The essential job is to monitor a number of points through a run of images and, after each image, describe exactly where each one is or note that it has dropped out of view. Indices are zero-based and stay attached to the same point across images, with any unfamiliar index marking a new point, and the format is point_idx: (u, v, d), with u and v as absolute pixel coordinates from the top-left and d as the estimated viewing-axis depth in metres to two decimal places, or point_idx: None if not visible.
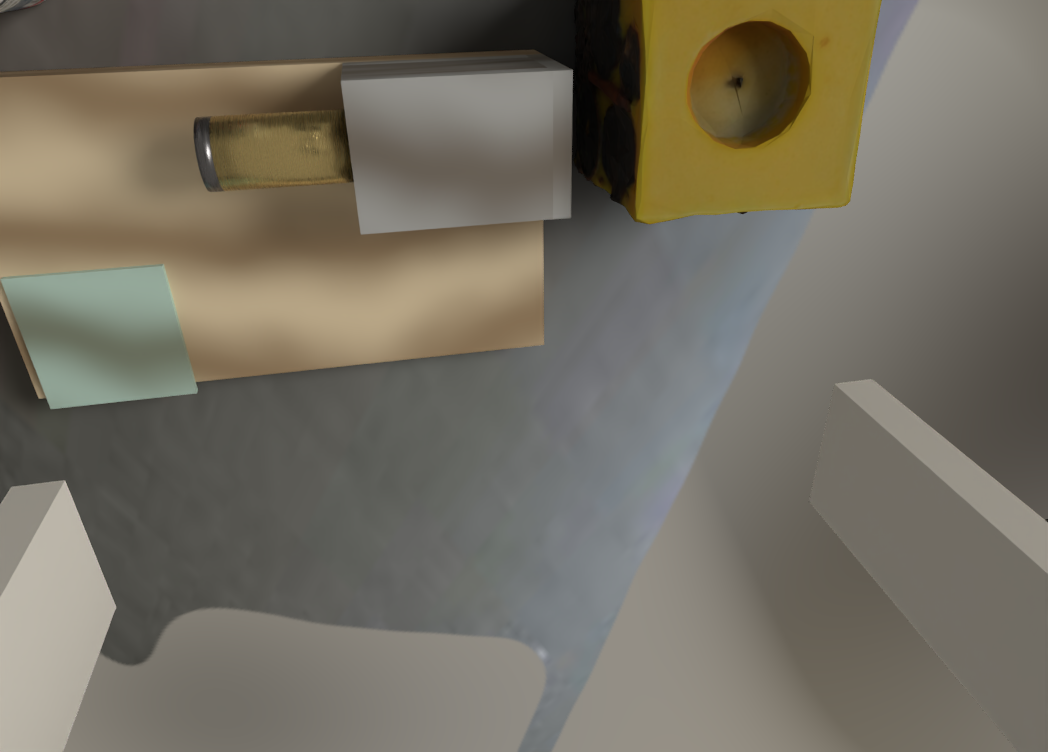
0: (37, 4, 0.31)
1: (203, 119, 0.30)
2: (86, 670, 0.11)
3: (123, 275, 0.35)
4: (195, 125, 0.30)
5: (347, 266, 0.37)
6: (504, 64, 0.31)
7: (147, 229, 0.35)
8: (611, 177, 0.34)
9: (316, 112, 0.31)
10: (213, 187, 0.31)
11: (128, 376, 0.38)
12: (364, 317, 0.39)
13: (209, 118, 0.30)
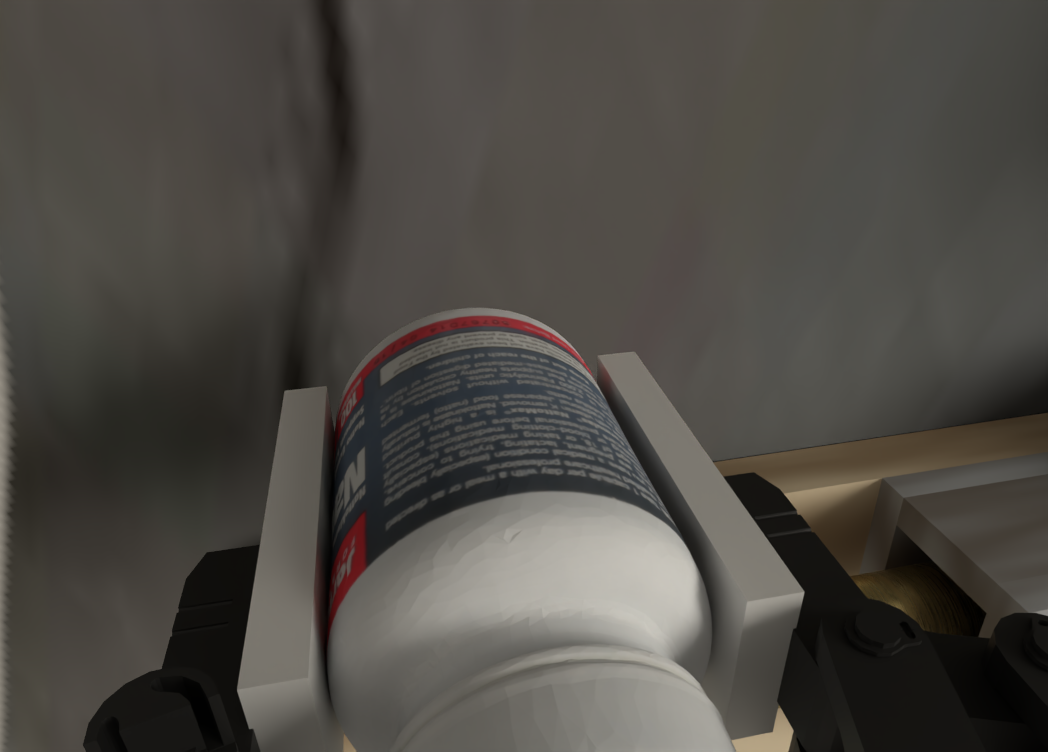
0: None
1: None
2: None
3: None
4: None
5: None
6: None
7: None
8: None
9: (898, 592, 0.20)
10: None
11: None
12: None
13: None
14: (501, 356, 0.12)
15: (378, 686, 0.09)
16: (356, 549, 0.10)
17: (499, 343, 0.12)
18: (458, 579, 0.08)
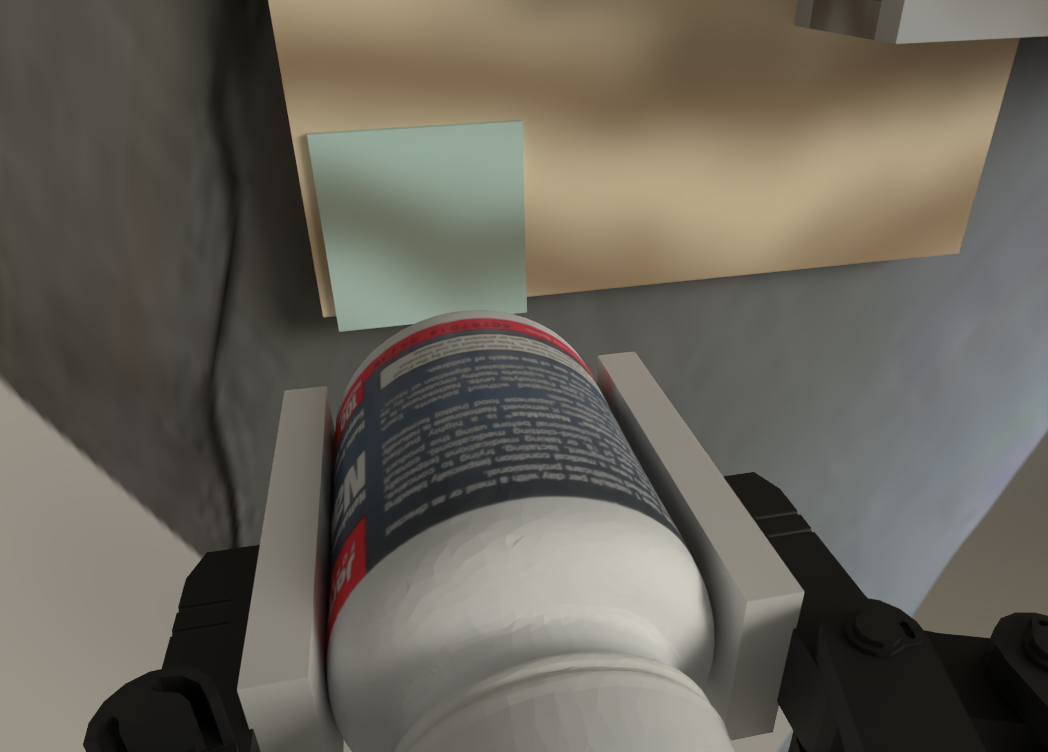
0: None
1: None
2: None
3: (469, 134, 0.25)
4: None
5: (752, 132, 0.27)
6: None
7: (511, 65, 0.24)
8: None
9: None
10: None
11: (446, 286, 0.27)
12: (754, 208, 0.28)
13: None
14: (502, 359, 0.12)
15: (379, 693, 0.09)
16: (356, 554, 0.09)
17: (500, 346, 0.12)
18: (460, 585, 0.08)
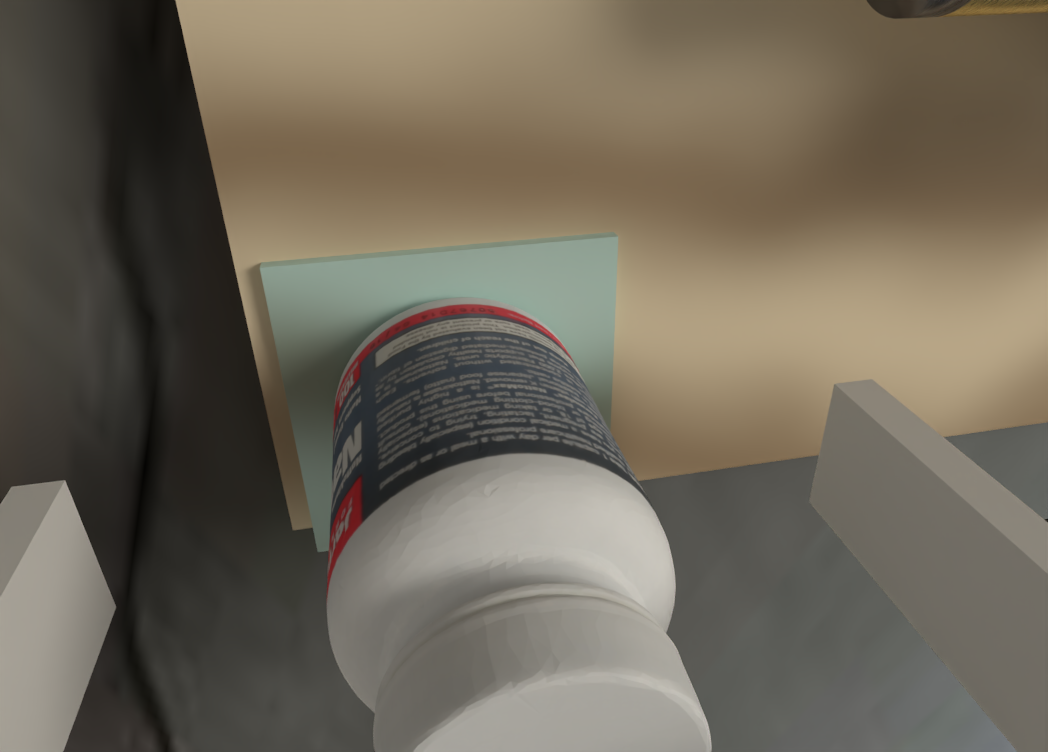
0: None
1: None
2: (86, 670, 0.11)
3: (531, 258, 0.15)
4: None
5: (965, 241, 0.17)
6: None
7: (602, 148, 0.15)
8: None
9: None
10: None
11: None
12: (952, 349, 0.19)
13: None
14: (486, 339, 0.13)
15: (374, 625, 0.10)
16: (354, 508, 0.11)
17: (484, 328, 0.14)
18: (443, 528, 0.09)
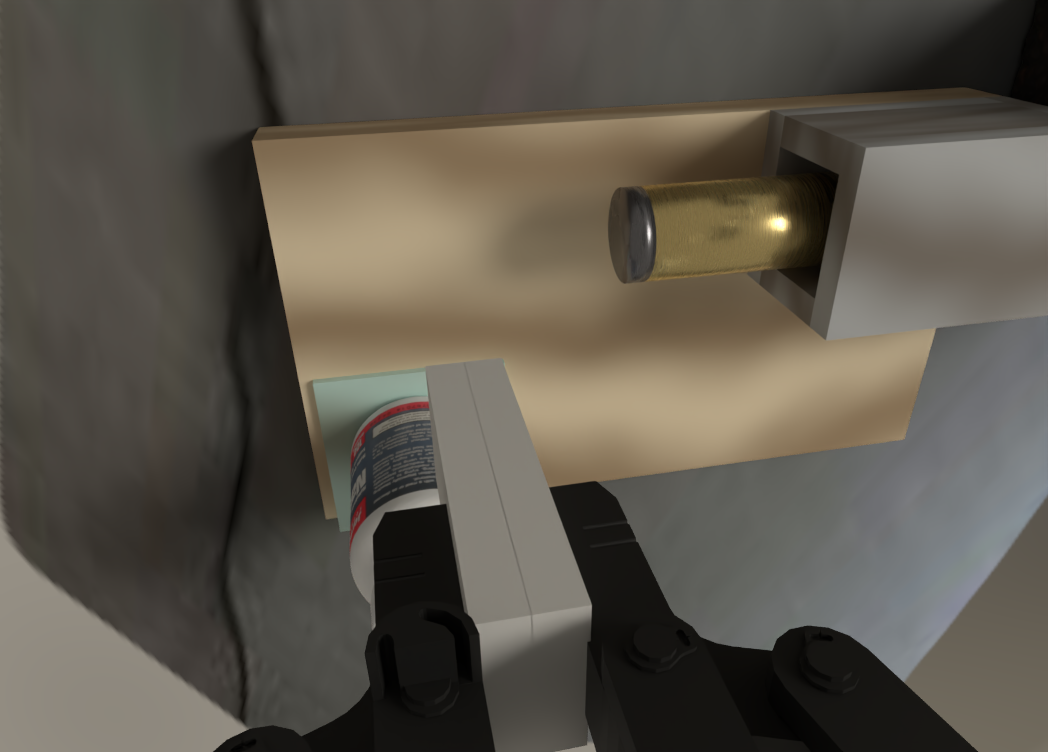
0: None
1: (638, 192, 0.23)
2: None
3: None
4: (633, 201, 0.22)
5: (711, 356, 0.30)
6: (1008, 115, 0.24)
7: (494, 319, 0.27)
8: None
9: (771, 180, 0.23)
10: (639, 279, 0.23)
11: None
12: (715, 415, 0.32)
13: (644, 191, 0.23)
14: (428, 425, 0.26)
15: (370, 562, 0.23)
16: (362, 511, 0.24)
17: (428, 417, 0.26)
18: None
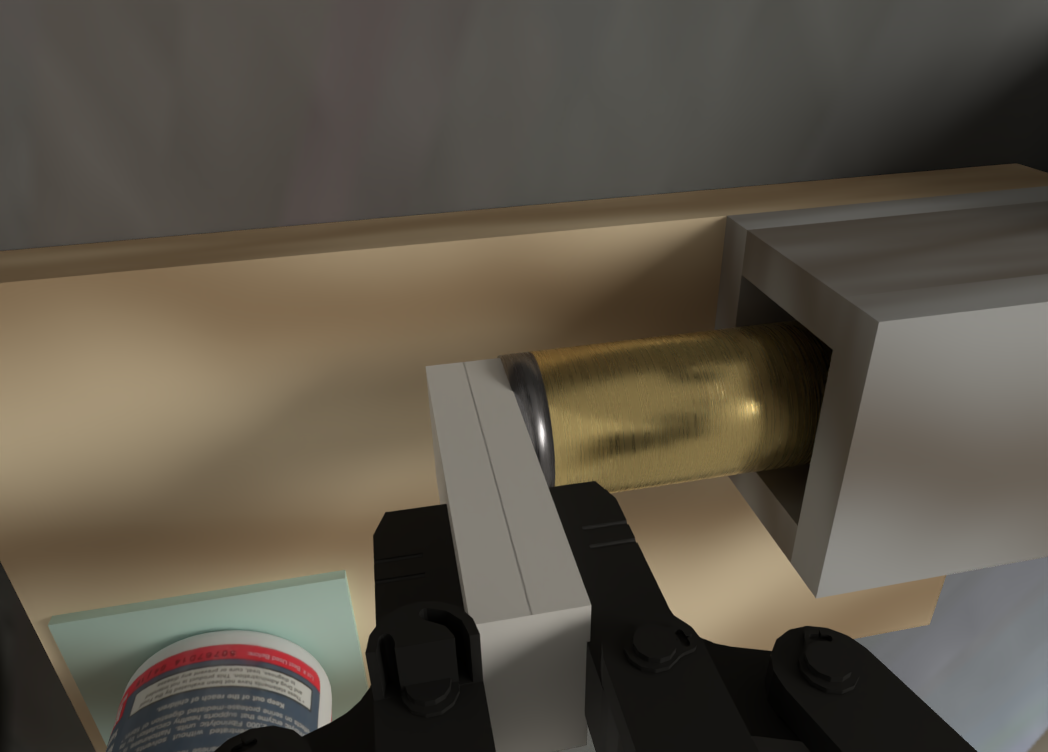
0: None
1: (526, 371, 0.14)
2: None
3: (274, 598, 0.19)
4: (516, 390, 0.13)
5: (656, 546, 0.21)
6: None
7: (323, 520, 0.18)
8: None
9: (747, 340, 0.15)
10: None
11: None
12: None
13: (537, 368, 0.14)
14: (211, 698, 0.17)
15: None
16: None
17: (216, 681, 0.17)
18: None
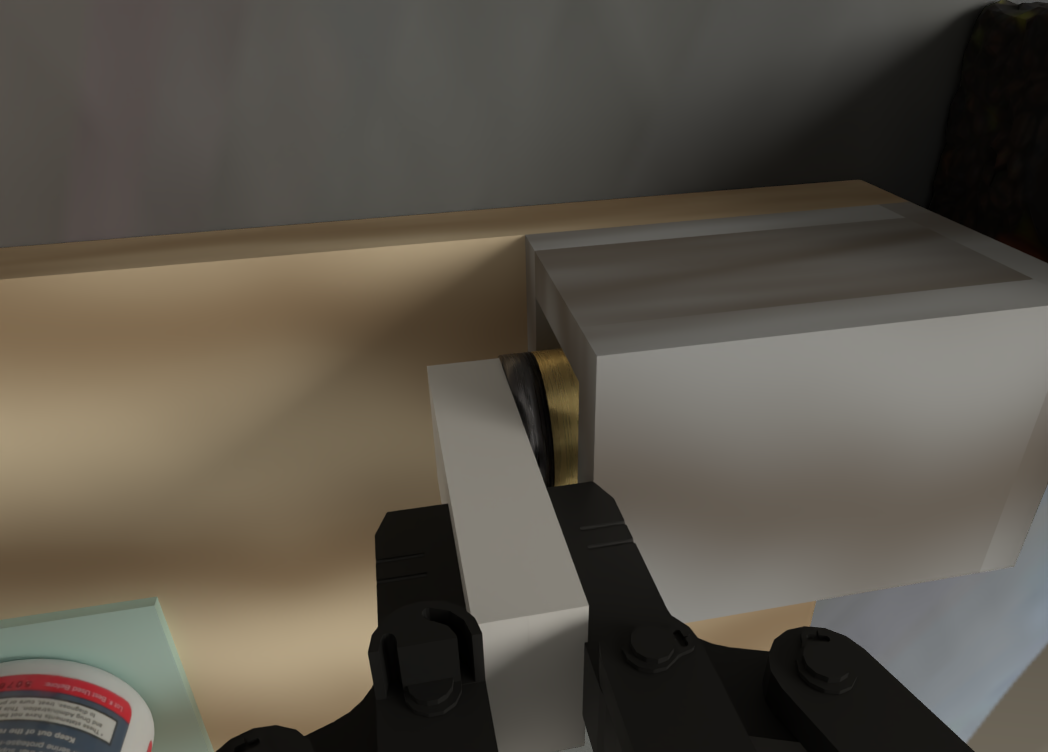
0: None
1: (526, 371, 0.14)
2: None
3: (79, 626, 0.18)
4: (516, 390, 0.13)
5: None
6: (899, 255, 0.14)
7: (125, 546, 0.18)
8: None
9: None
10: None
11: None
12: None
13: (537, 368, 0.14)
14: None
15: None
16: None
17: (1, 715, 0.17)
18: None
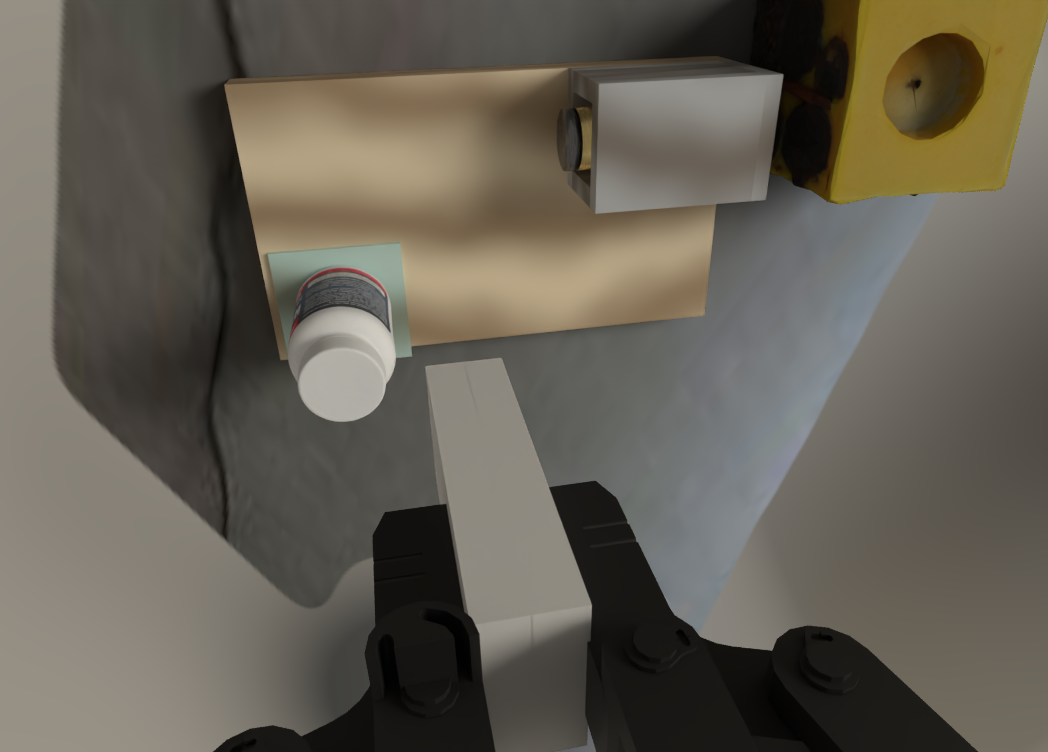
0: None
1: (571, 110, 0.36)
2: None
3: (367, 251, 0.41)
4: (568, 115, 0.36)
5: (549, 245, 0.43)
6: (714, 69, 0.37)
7: (391, 211, 0.40)
8: (791, 165, 0.40)
9: None
10: (573, 166, 0.37)
11: None
12: (557, 290, 0.44)
13: (576, 109, 0.37)
14: (344, 278, 0.39)
15: (299, 352, 0.36)
16: (295, 324, 0.36)
17: (345, 275, 0.39)
18: (318, 323, 0.35)
